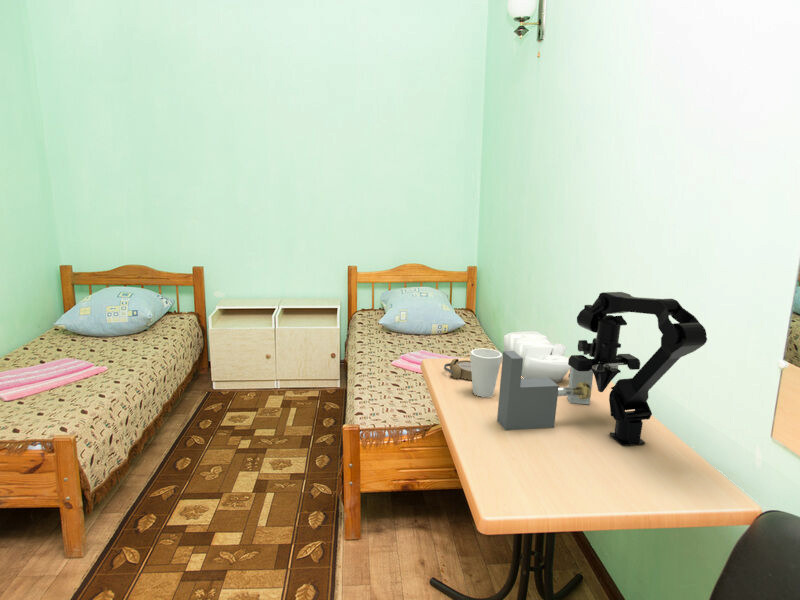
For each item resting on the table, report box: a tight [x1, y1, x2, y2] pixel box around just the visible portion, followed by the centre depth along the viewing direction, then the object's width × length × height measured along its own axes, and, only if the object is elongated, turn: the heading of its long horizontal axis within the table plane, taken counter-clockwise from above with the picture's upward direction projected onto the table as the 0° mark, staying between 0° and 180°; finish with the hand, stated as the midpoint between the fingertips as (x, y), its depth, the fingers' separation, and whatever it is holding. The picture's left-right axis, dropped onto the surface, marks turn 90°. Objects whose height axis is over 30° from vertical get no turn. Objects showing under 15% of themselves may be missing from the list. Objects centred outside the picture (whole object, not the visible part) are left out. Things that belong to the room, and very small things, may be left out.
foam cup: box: [469, 347, 503, 398], centre depth 173 cm, size 10×9×13 cm
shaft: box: [558, 382, 592, 399], centre depth 154 cm, size 5×13×5 cm, turn 102°
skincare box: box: [566, 367, 594, 405], centre depth 170 cm, size 6×4×12 cm
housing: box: [496, 350, 560, 431], centre depth 152 cm, size 6×14×20 cm, turn 102°
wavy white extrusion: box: [503, 330, 571, 384], centre depth 198 cm, size 35×16×11 cm, turn 6°
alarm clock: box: [443, 358, 472, 381], centre depth 189 cm, size 11×5×15 cm
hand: (600, 391), depth 157 cm, fingers closed
